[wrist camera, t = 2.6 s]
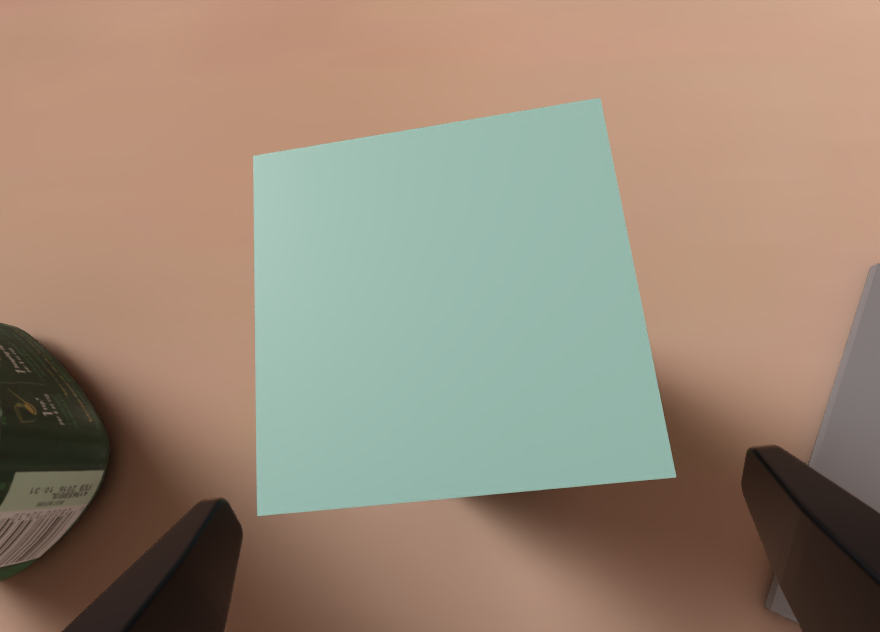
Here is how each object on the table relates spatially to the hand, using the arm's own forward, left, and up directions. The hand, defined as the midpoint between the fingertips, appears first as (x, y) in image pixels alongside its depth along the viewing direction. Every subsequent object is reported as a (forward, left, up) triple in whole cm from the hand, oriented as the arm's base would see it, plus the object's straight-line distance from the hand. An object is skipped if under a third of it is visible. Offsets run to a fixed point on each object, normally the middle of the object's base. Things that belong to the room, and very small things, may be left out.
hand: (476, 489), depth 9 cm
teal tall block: (+1, -2, -10) cm, 10 cm away
